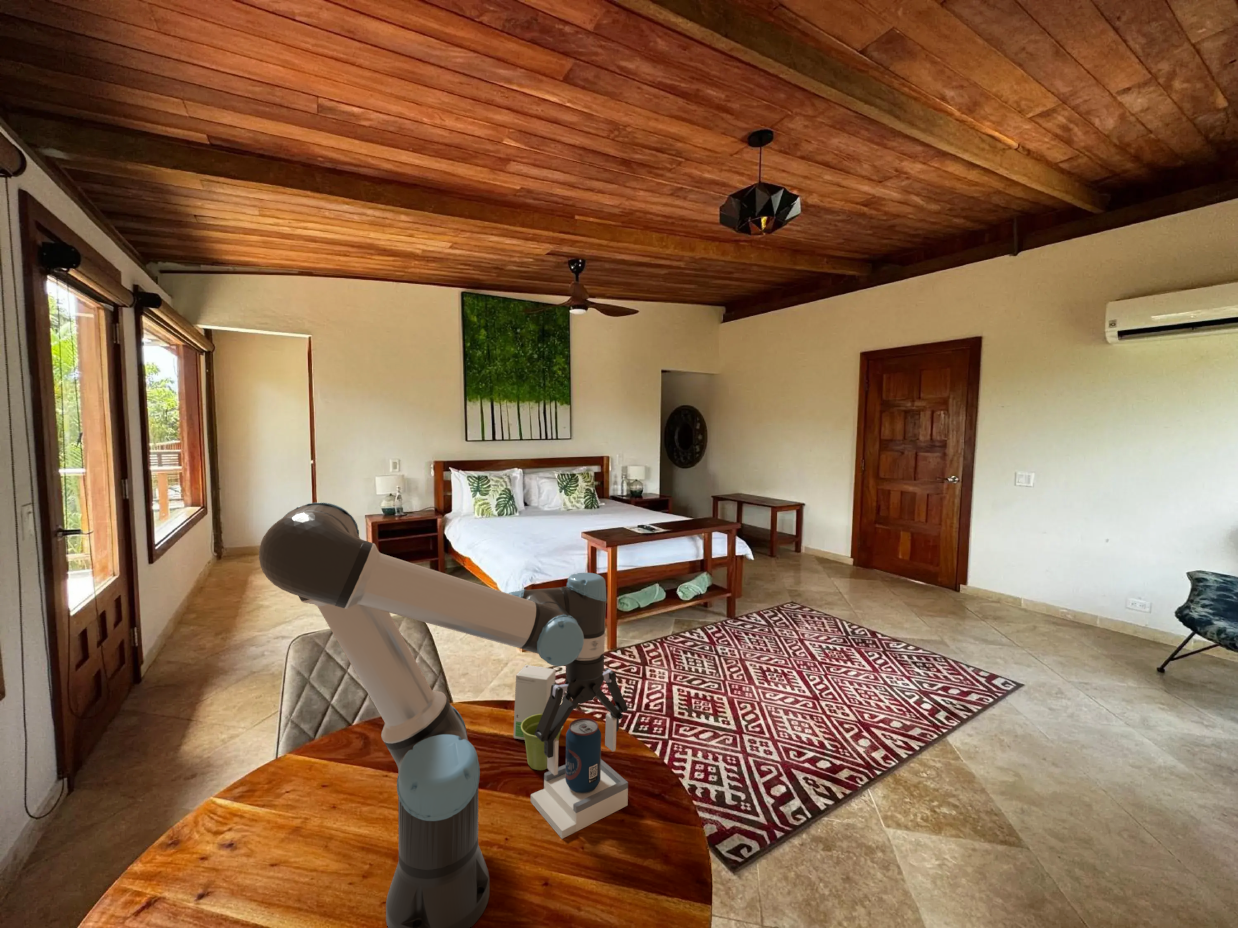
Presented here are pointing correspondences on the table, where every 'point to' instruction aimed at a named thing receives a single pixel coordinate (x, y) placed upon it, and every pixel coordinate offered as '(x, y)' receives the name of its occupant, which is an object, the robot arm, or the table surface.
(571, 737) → the soda can
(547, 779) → the dock
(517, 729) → the skincare box
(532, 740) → the plant pot
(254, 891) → the table surface
